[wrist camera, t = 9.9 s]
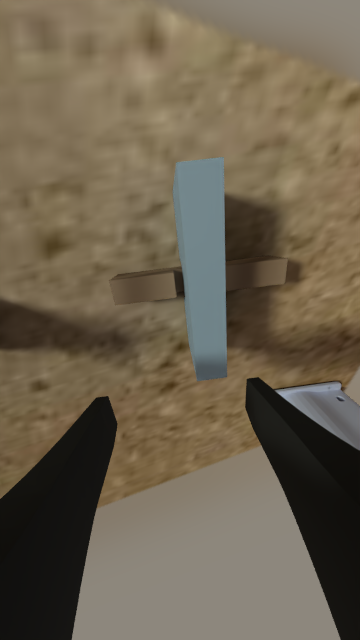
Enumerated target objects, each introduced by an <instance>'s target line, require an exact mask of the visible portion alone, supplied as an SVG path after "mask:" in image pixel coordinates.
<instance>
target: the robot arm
mask: <svg viewBox="0 0 360 640" xmlns="http://www.w3.org/2000/svg"><path fill="white" fill-rule="evenodd" d="M340 389H341V383H339V382H329V383H322V384H315V385H308V386H300V387H293V388H286V389H279V390H273V389H272V388H271V387H270V386H269V385H267V384H266V383H265V382H264V381H262V380H261V379H260V378H259V377H257V378H249V379H247V385H246V404H245V408H246V411H247V414H248V416H249V419H250V422H251V424H252V427H253V429H254V431H255V433H256V435H257V437H258V439H259V441H260V443H261V445H262V447H263V449H264V451H265V453H266V455H267V457H268V459H269V461H270V463H271V465H272V467H273V469H274V471H275V473H276V475H277V477H278V479H279V482H280V484H281V486H282V488H283V490H284V492H285V495H286V497H287V500H288V502H289V505H290V507H291V509H292V512H293V514H294V516H295V519H296V522H297V524H298V526H299V529H300V532H301V534H302V537H303V540H304V542H305V545H306V547H307V550H308V552H309V555H310V557H311V560H312V562H313V565H314V568H315V571H316V573H317V576H318V579H319V581H320V584H321V587H322V589H323V592H324V594H325V597H326V600H327V602H328V605H329V608H330V611H331V614H332V617H333V619H334V622H335V625H336V628H337V630H338V633H339V636H340V639H341V640H360V406H359V405H358V404H357V403H356V402H354V401H353V400H352V399H351V398H350V397H349V396H347V395H346V394H345V393H344V392H343V391H341V390H340ZM116 430H117V421H116V418H115V415H114V412H113V409H112V406H111V403H110V400H109V397H108V396H106V397H98V398H96V399H95V400H94V401H93V402H92V403H91V404H90V405H89V407H88V408H87V409H86V410H85V411H84V412H83V414H82V415H81V416H80V417H79V418H78V419H77V421H76V422H75V423H74V424H73V425H72V426H71V427H70V429H69V430H68V431H67V432H66V433H65V434H64V435H63V437H62V438H61V439H60V440H59V441H58V442H57V443H56V444H55V445H54V446H53V447H52V448H51V450H50V451H49V452H48V453H47V454H46V455H45V456H44V457H43V458H42V459H41V460H40V461H39V462H38V463H37V464H36V465H35V466H34V467H33V468H32V469H31V470H30V471H29V472H28V473H27V474H26V475H25V476H24V477H23V478H22V479H21V480H20V481H19V482H18V483H17V484H16V485H15V486H14V487H13V488H12V489H11V490H10V491H9V492H8V493H6V494H5V495H4V496H3V497H2V498H1V499H0V640H72V633H73V628H74V622H75V616H76V610H77V605H78V599H79V593H80V587H81V582H82V576H83V571H84V566H85V561H86V555H87V550H88V545H89V540H90V535H91V531H92V525H93V520H94V516H95V512H96V508H97V504H98V501H99V497H100V494H101V490H102V487H103V483H104V480H105V476H106V472H107V469H108V465H109V462H110V458H111V455H112V451H113V447H114V442H115V437H116Z"/></svg>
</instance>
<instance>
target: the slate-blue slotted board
mask: <svg viewBox="0 0 360 640" xmlns="http://www.w3.org/2000/svg"><path fill="white" fill-rule="evenodd" d="M173 199H174V209H175V218H176V227H177V237H178V246H179V255H180V261H181V264H182V274H183V283H184V293H185V298H184V302H185V311H186V320H187V329H188V339H189V346H190V350H191V355H192V359H193V364H194V368H195V373H196V377H197V381H202V380H209V379H217V378H224V377H227V344H226V278H225V212H224V157H220V158H211V159H202V160H194V161H185V162H176V170H175V178H174V186H173Z"/></svg>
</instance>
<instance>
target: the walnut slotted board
mask: <svg viewBox="0 0 360 640" xmlns="http://www.w3.org/2000/svg"><path fill="white" fill-rule="evenodd" d="M287 260H288V258H282V257H275V256H262V257H254V258H246V259H238V260H230V261H225V278H226V291H231V290H239V289H247V288H254V287H262V286H270V285H278V284H285V278H286V269H287ZM109 283H110V287H111V291H112V294H113V298H114V302H115V305H122V304H130V303H137V302H145V301H153V300H161V299H169V298H176V293H178V292H184V283H183V274H182V267H174V268H166V269H158V270H150V271H142V272H134V273H126V274H118V275H117V276H115V277H114V278H112V279H111V280H109Z"/></svg>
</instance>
